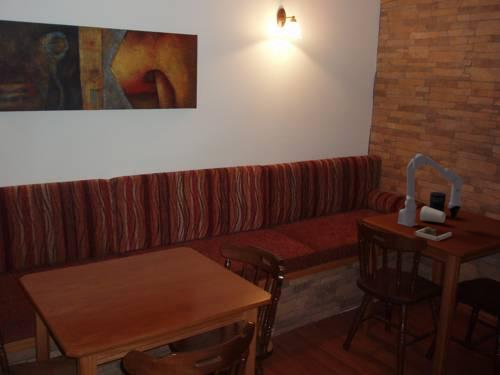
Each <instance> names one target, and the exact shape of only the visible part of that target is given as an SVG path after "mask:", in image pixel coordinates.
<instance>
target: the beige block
mask: <svg viewBox="0 0 500 375" xmlns="http://www.w3.org/2000/svg"><path fill="white" fill-rule="evenodd" d="M428 227H429V228H427V227H425V228H426V229H425V233H424V234H428V235H432V236H435V237H437V236H436V234H437V228H434V227H433V228H432V227H431V226H428ZM430 227H431V228H430Z"/></svg>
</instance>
